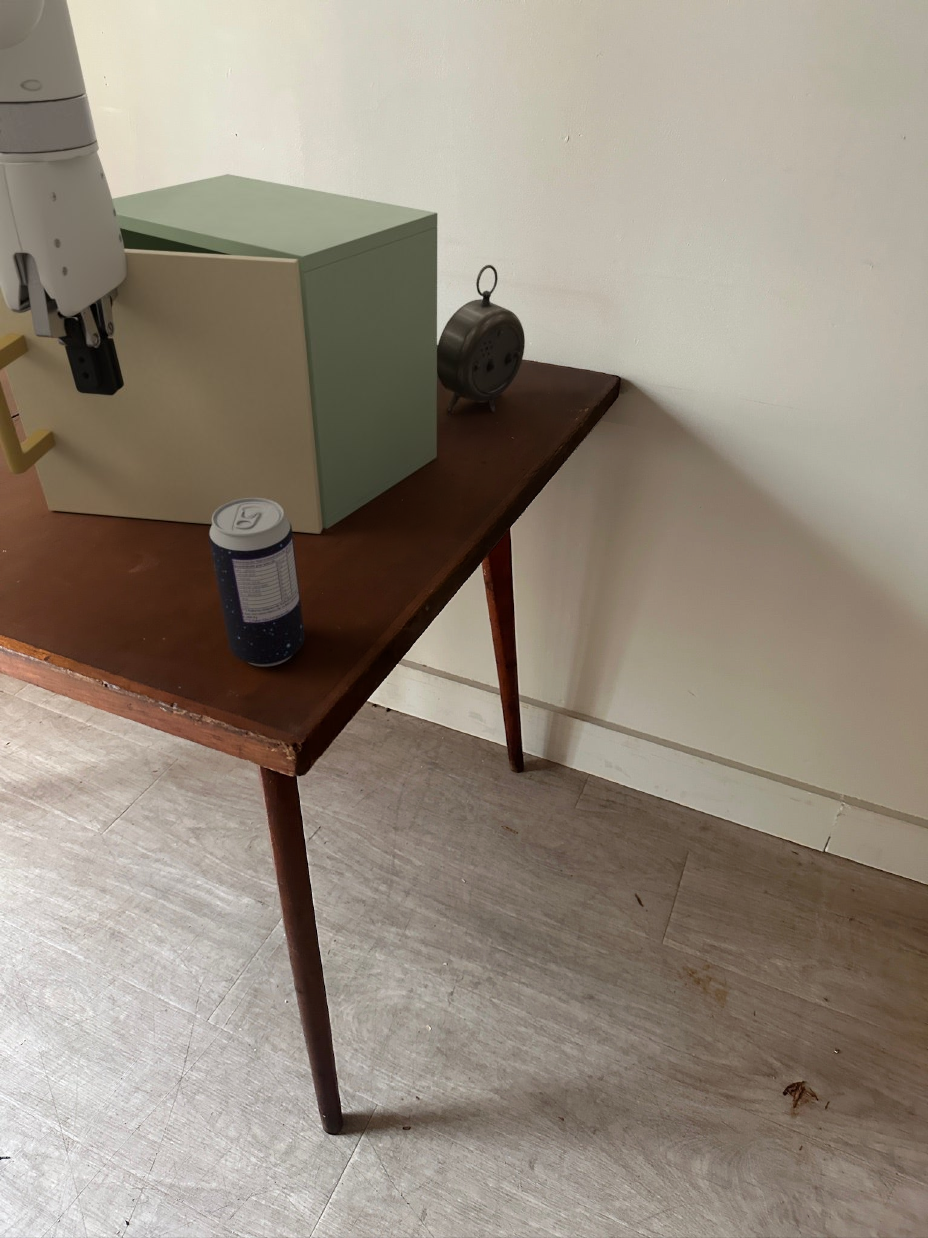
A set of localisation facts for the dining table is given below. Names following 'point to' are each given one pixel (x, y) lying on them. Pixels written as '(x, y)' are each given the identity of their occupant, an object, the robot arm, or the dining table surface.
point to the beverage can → (257, 580)
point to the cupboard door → (174, 396)
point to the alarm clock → (480, 349)
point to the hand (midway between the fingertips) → (101, 389)
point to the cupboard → (330, 312)
